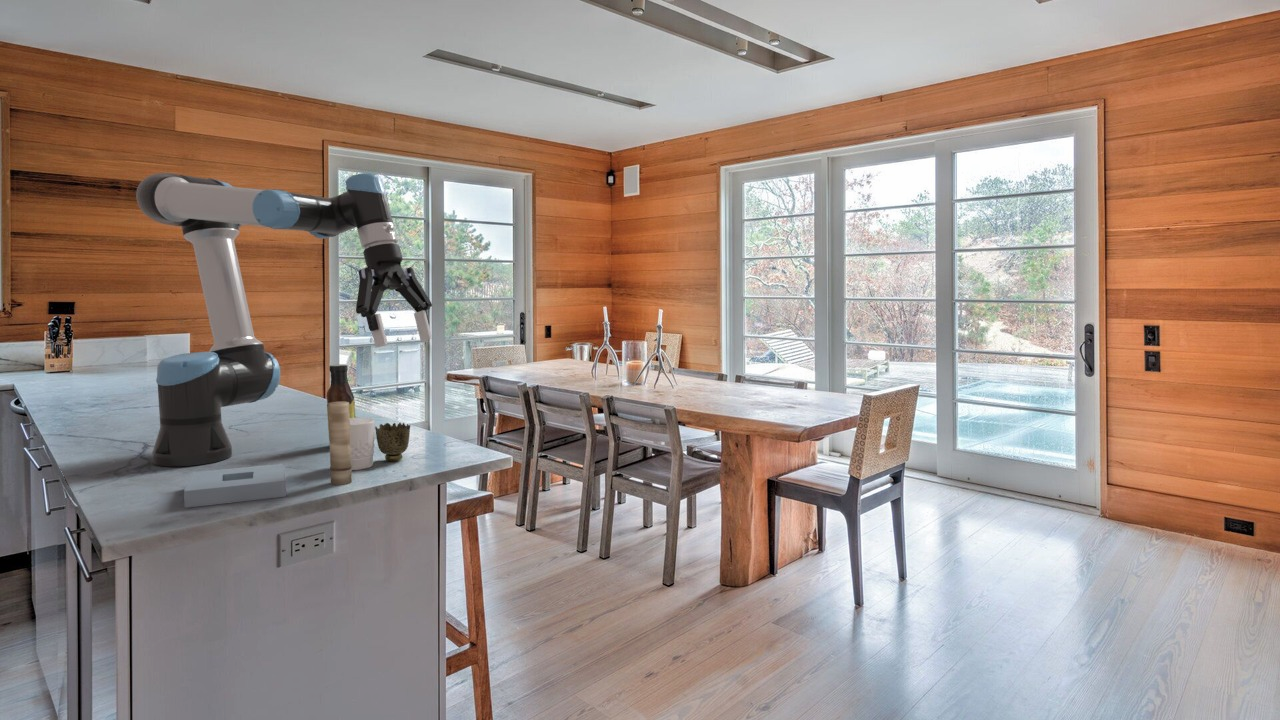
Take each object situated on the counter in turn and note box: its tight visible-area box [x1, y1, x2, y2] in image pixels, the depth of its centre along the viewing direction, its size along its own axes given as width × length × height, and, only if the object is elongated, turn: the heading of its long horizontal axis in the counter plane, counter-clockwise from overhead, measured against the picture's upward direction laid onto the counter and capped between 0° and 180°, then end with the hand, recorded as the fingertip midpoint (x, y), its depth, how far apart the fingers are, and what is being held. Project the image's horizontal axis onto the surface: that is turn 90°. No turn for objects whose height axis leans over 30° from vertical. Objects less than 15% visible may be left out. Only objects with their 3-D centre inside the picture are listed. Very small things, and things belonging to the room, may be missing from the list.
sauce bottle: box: [326, 363, 356, 442], centre depth 174 cm, size 7×6×20 cm
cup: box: [374, 422, 411, 463], centre depth 161 cm, size 8×7×8 cm
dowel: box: [328, 402, 353, 486], centre depth 143 cm, size 4×4×16 cm
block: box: [183, 463, 287, 509], centre depth 136 cm, size 14×16×3 cm
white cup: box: [350, 417, 376, 471], centre depth 156 cm, size 8×8×10 cm
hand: (405, 343), depth 154 cm, fingers open, 13 cm apart
